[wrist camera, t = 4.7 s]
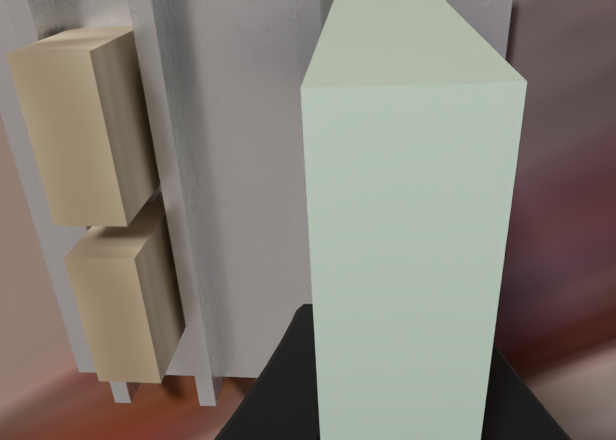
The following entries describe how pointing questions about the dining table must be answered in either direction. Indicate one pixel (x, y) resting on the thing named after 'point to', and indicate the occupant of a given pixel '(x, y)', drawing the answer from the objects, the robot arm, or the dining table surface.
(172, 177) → the slot rack
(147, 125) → the oak offcut
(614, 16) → the dining table surface
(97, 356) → the oak offcut
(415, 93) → the sage panel
